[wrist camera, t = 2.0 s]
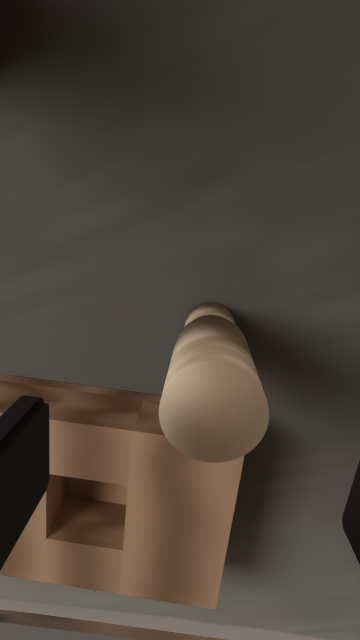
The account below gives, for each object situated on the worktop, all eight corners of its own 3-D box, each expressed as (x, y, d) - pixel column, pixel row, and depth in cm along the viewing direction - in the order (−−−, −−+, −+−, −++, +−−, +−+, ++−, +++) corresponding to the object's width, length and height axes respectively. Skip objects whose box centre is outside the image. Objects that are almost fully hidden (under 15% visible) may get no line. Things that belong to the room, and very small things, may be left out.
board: (238, 406, 26) (246, 446, 21) (214, 547, 30) (215, 609, 25) (-14, 372, 27) (-62, 403, 22) (-7, 513, 31) (-47, 567, 26)
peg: (243, 301, 24) (278, 372, 12) (234, 357, 25) (259, 469, 13) (184, 294, 24) (164, 357, 13) (178, 349, 25) (154, 454, 14)
